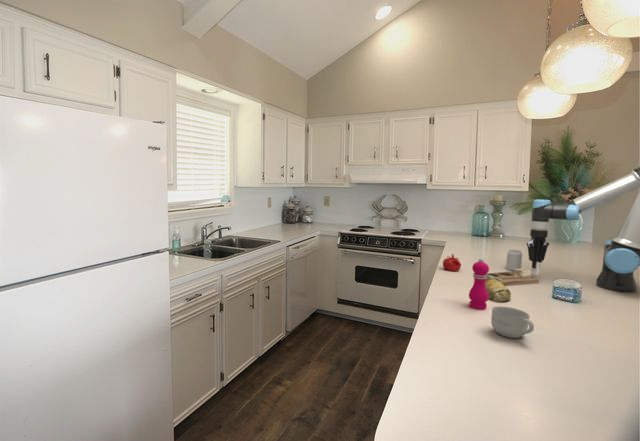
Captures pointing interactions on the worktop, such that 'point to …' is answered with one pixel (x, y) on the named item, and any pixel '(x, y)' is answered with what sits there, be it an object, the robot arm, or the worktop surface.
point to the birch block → (522, 273)
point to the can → (514, 260)
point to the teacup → (511, 321)
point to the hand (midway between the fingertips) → (535, 274)
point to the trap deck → (510, 279)
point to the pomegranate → (451, 264)
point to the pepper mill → (479, 286)
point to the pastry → (497, 291)
